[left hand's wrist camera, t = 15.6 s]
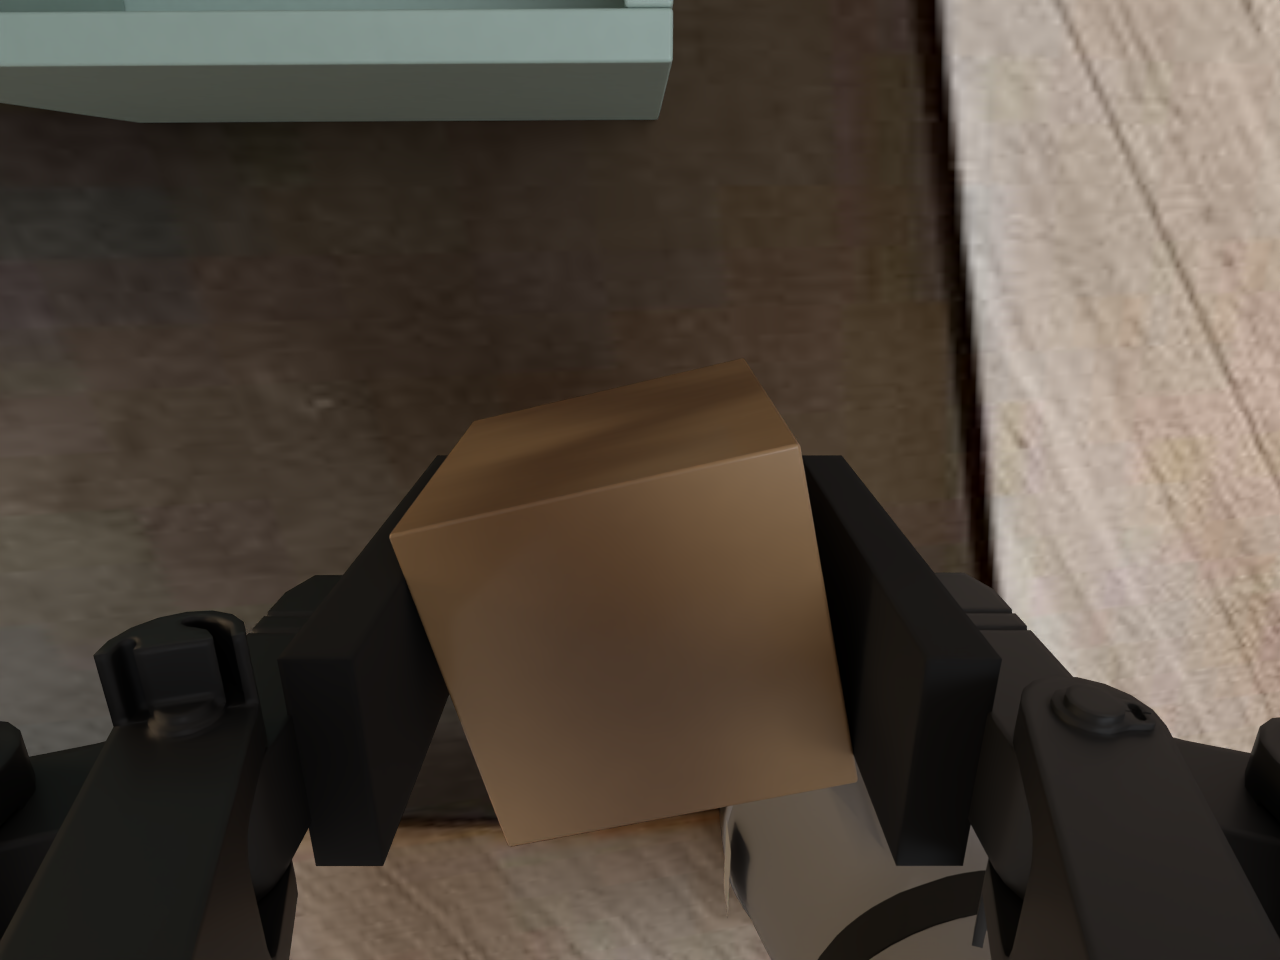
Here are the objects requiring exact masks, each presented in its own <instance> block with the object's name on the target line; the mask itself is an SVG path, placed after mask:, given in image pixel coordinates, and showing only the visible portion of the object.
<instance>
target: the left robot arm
mask: <svg viewBox="0 0 1280 960" xmlns="http://www.w3.org/2000/svg"><path fill="white" fill-rule="evenodd" d="M446 458H447V456H437V457H436V458H435V459H434V461H433V462H432V463H431V464H430V466H429V467H428V468H427V470H426V471H425V472H424V473H423V475H422V476H421V477H420V478H419V480H418V481H417V482H416V483H415V485H414V486H413V487H412V489H411V490H410V491H409V492H408V494H407V495H406V496H405V497H404V499H403V500H402V501H401V502H400V504H399V505H398V506H397V508H396V509H395V510H394V511H393V513H392V514H391V515H390V516H389V518H388V519H387V520H386V522H385V523H384V524H383V525H382V527H381V528H380V529H379V530H378V532H377V533H376V534H375V535H374V537H373V538H372V539H371V541H370V542H369V543H368V544H367V546H366V547H365V548H364V549H363V551H362V552H361V553H360V554H359V556H358V557H357V558H356V560H355V561H354V562H353V563H352V565H351V566H350V567H349V568H348V570H347V571H346V572H345V573H344V575H315V576H313V577H311V578H310V579H308V580H306V581H305V582H303V583H301V584H299V585H298V586H296V587H294V588H292V589H291V590H289V591H287V592H286V593H285V594H284V595H283V596H282V597H281V598H280V599H279V600H278V601H277V603H276V604H275V605H274V606H273V607H272V608H271V609H270V610H269V611H268V616H264V617H263V618H262V619H261V620H260V621H259V623H258V624H257V625H256V626H255V627H254V628H253V633H249V634H248V635H247V636H246V631H245V626H244V622H243V621H241V620H240V619H238V618H237V617H236V616H234V615H233V614H228V613H223V612H217V611H195V612H184V613H179V614H175V615H170V616H165V617H160V618H157V619H154V620H151V621H149V622H146V623H143V624H140V625H138V626H135V627H132V628H130V629H128V630H127V631H125V632H123V633H121V634H119V635H118V636H116V637H114V638H112V639H111V640H109V641H108V642H107V643H106V644H104V645H103V646H102V647H101V648H100V649H99V650H98V651H97V652H96V653H95V654H94V655H93V656H94V659H95V663H96V666H97V670H98V673H99V677H100V680H101V684H102V687H103V691H104V694H105V698H106V701H107V705H108V708H109V712H110V715H111V719H112V723H113V726H114V727H113V729H112V731H111V733H110V735H109V737H108V739H107V741H105V742H101V743H97V744H93V745H87V746H82V747H77V748H72V749H67V750H62V751H57V752H52V753H47V754H42V755H36V756H31V757H29V756H28V753H27V750H26V747H25V744H24V741H23V738H22V735H21V732H20V730H19V729H17V728H16V727H14V726H13V725H11V724H10V723H9V722H2V721H0V960H289V956H290V949H291V941H292V934H293V926H294V919H295V912H296V904H297V897H298V891H297V884H296V877H295V872H294V867H293V862H292V858H293V856H294V854H295V853H296V851H297V849H298V847H299V845H300V843H301V841H302V839H303V837H304V835H305V834H306V832H307V830H308V828H309V831H310V836H311V842H312V847H313V852H314V857H315V863H316V866H383V865H384V862H385V859H386V857H387V854H388V852H389V849H390V846H391V844H392V841H393V839H394V836H395V833H396V831H397V828H398V826H399V823H400V820H401V818H402V815H403V813H404V810H405V807H406V805H407V802H408V800H409V797H410V794H411V792H412V789H413V787H414V784H415V781H416V779H417V776H418V774H419V771H420V768H421V766H422V763H423V761H424V758H425V755H426V753H427V750H428V748H429V745H430V742H431V740H432V737H433V735H434V732H435V729H436V727H437V724H438V722H439V719H440V716H441V714H442V711H443V709H444V706H445V703H446V701H447V698H448V696H449V691H448V689H447V686H446V683H445V681H444V678H443V676H442V673H441V670H440V668H439V665H438V663H437V660H436V658H435V655H434V652H433V650H432V647H431V645H430V642H429V639H428V637H427V634H426V632H425V629H424V626H423V624H422V621H421V619H420V616H419V613H418V611H417V608H416V606H415V603H414V601H413V598H412V595H411V593H410V590H409V588H408V585H407V582H406V580H405V577H404V575H403V572H402V569H401V567H400V564H399V562H398V559H397V556H396V554H395V551H394V549H393V546H392V544H391V541H390V538H389V536H390V534H391V532H392V531H393V529H394V528H395V527H396V525H397V524H398V523H399V521H400V520H401V519H402V517H403V516H404V515H405V513H406V512H407V511H408V509H409V508H410V506H411V505H412V504H413V502H414V501H415V500H416V498H417V497H418V496H419V494H420V493H421V492H422V490H423V489H424V488H425V486H426V485H427V483H428V482H429V481H430V479H431V478H432V477H433V475H434V474H435V473H436V471H437V470H438V469H439V467H440V466H441V465H442V463H443V462H444V460H445V459H446ZM802 459H803V464H804V470H805V476H806V482H807V488H808V493H809V499H810V505H811V511H812V516H813V522H814V528H815V534H816V539H817V545H818V551H819V557H820V563H821V568H822V574H823V580H824V586H825V591H826V597H827V603H828V609H829V614H830V620H831V626H832V632H833V638H834V643H835V649H836V655H837V661H838V666H839V672H840V678H841V684H842V690H843V695H844V701H845V707H846V713H847V718H848V724H849V730H850V736H851V741H852V747H853V755H854V759H855V765H856V770H857V776H858V780H857V782H855V783H851V784H845V785H840V786H834V787H829V788H824V789H818V790H813V791H808V792H802V793H797V794H792V795H786V796H781V797H775V798H770V799H765V800H759V801H754V802H749V803H743V804H738V805H732V806H727V807H722V808H720V826H721V834H722V842H723V850H724V857H725V863H724V893H725V901H726V910H727V918H728V900H729V880H730V883H731V885H732V888H733V890H734V892H735V894H736V896H737V898H738V900H739V901H740V903H741V905H742V907H743V908H744V910H745V911H746V913H747V914H748V916H749V917H750V919H751V920H752V922H753V924H754V926H755V928H756V930H757V932H758V934H759V936H760V938H761V940H762V942H763V944H764V946H765V948H766V950H767V952H768V954H769V956H770V958H771V960H1280V718H1272V719H1270V720H1269V721H1267V722H1266V723H1265V724H1263V725H1262V726H1260V728H1259V731H1258V734H1257V737H1256V740H1255V743H1254V746H1253V749H1252V752H1251V753H1247V752H1241V751H1236V750H1231V749H1226V748H1221V747H1216V746H1211V745H1205V744H1200V743H1195V742H1190V741H1185V740H1181V739H1177V738H1173V737H1172V735H1171V733H1170V732H1169V730H1168V728H1167V726H1166V725H1165V724H1164V722H1163V721H1162V720H1161V719H1160V718H1159V716H1158V715H1157V714H1156V713H1155V712H1154V711H1153V710H1152V709H1151V708H1149V707H1148V706H1146V705H1145V704H1143V703H1142V702H1140V701H1139V700H1138V699H1136V698H1135V697H1133V696H1132V695H1129V694H1127V693H1125V692H1122V691H1120V690H1118V689H1115V688H1113V687H1111V686H1108V685H1106V684H1103V683H1099V682H1095V681H1091V680H1086V679H1082V678H1078V677H1073V676H1072V675H1071V674H1070V673H1069V672H1068V671H1067V670H1066V669H1065V668H1064V666H1063V665H1062V664H1061V663H1060V662H1059V661H1058V660H1057V659H1056V658H1055V657H1054V655H1053V654H1052V653H1051V652H1050V651H1049V650H1048V649H1047V648H1046V647H1045V646H1044V644H1043V643H1042V642H1041V641H1040V640H1039V639H1038V638H1037V637H1036V636H1035V634H1034V633H1033V632H1032V631H1031V630H1027V626H1026V625H1025V623H1024V622H1023V621H1022V620H1021V619H1020V618H1019V617H1018V616H1017V615H1016V614H1015V613H1012V609H1011V608H1010V607H1009V606H1008V605H1007V604H1006V603H1005V601H1004V600H1003V599H1002V598H1001V597H1000V596H999V595H998V594H997V593H996V592H995V590H993V589H992V588H990V587H988V586H986V585H985V584H983V583H981V582H980V581H978V580H976V579H974V578H973V577H971V576H969V575H967V574H966V573H934V572H933V571H932V570H931V568H930V567H929V566H928V565H927V563H926V562H925V561H924V559H923V558H922V557H921V556H920V554H919V553H918V552H917V551H916V549H915V548H914V547H913V545H912V544H911V543H910V542H909V540H908V539H907V538H906V537H905V535H904V534H903V533H902V532H901V530H900V529H899V528H898V526H897V525H896V524H895V523H894V521H893V520H892V519H891V518H890V516H889V515H888V514H887V513H886V511H885V510H884V509H883V507H882V506H881V505H880V504H879V502H878V501H877V500H876V499H875V497H874V496H873V495H872V493H871V492H870V491H869V490H868V488H867V487H866V486H865V485H864V483H863V482H862V481H861V480H860V478H859V477H858V476H857V474H856V473H855V472H854V471H853V469H852V468H851V467H850V466H849V464H848V463H847V462H846V460H845V459H844V458H843V457H842V456H802Z"/></svg>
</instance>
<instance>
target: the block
mask: <svg viewBox="0 0 1280 960" xmlns="http://www.w3.org/2000/svg"><path fill="white" fill-rule="evenodd" d="M389 538H390V541H391V544H392V546H393V549H394V551H395V554H396V556H397V559H398V562H399V564H400V567H401V569H402V572H403V575H404V577H405V580H406V582H407V585H408V588H409V590H410V593H411V595H412V598H413V601H414V603H415V606H416V608H417V611H418V613H419V616H420V619H421V621H422V624H423V626H424V629H425V632H426V634H427V637H428V639H429V642H430V645H431V647H432V650H433V652H434V655H435V658H436V660H437V663H438V665H439V668H440V670H441V673H442V676H443V678H444V681H445V683H446V686H447V689H448V691H449V694H450V696H451V699H452V702H453V704H454V707H455V709H456V712H457V715H458V717H459V720H460V722H461V725H462V727H463V730H464V733H465V735H466V738H467V740H468V743H469V746H470V748H471V751H472V753H473V756H474V759H475V761H476V764H477V766H478V769H479V771H480V774H481V777H482V779H483V782H484V784H485V787H486V790H487V792H488V795H489V797H490V800H491V803H492V805H493V808H494V810H495V813H496V816H497V818H498V821H499V823H500V826H501V828H502V831H503V834H504V836H505V839H506V841H507V844H508V846H510V847H512V846H518V845H523V844H528V843H534V842H539V841H545V840H550V839H555V838H561V837H566V836H571V835H577V834H582V833H588V832H593V831H598V830H604V829H609V828H614V827H620V826H625V825H630V824H636V823H641V822H647V821H652V820H657V819H663V818H668V817H673V816H679V815H684V814H690V813H695V812H700V811H706V810H711V809H716V808H722V807H727V806H732V805H738V804H743V803H749V802H754V801H759V800H765V799H770V798H775V797H781V796H786V795H792V794H797V793H802V792H808V791H813V790H818V789H824V788H829V787H834V786H840V785H845V784H851V783H855V782H857V780H858V776H857V770H856V765H855V759H854V755H853V747H852V741H851V736H850V730H849V724H848V718H847V713H846V707H845V701H844V695H843V690H842V684H841V678H840V672H839V666H838V661H837V655H836V649H835V643H834V638H833V632H832V626H831V620H830V614H829V609H828V603H827V597H826V591H825V586H824V580H823V574H822V568H821V563H820V557H819V551H818V545H817V539H816V534H815V528H814V522H813V516H812V511H811V505H810V499H809V493H808V488H807V482H806V476H805V470H804V464H803V459H802V453H801V447H800V445H799V443H798V442H797V440H796V439H795V437H794V436H793V434H792V432H791V431H790V429H789V428H788V426H787V425H786V423H785V422H784V420H783V418H782V417H781V415H780V414H779V412H778V411H777V409H776V407H775V406H774V404H773V403H772V401H771V400H770V398H769V397H768V395H767V393H766V392H765V390H764V389H763V387H762V386H761V384H760V383H759V381H758V379H757V378H756V376H755V375H754V373H753V372H752V370H751V369H750V367H749V365H748V364H747V362H746V361H745V359H743V358H741V359H737V360H733V361H729V362H724V363H720V364H716V365H712V366H707V367H703V368H699V369H694V370H690V371H686V372H682V373H677V374H673V375H669V376H664V377H660V378H656V379H652V380H647V381H643V382H639V383H635V384H630V385H626V386H622V387H617V388H613V389H609V390H605V391H600V392H596V393H592V394H587V395H583V396H579V397H575V398H570V399H566V400H562V401H558V402H553V403H549V404H545V405H540V406H536V407H532V408H528V409H523V410H519V411H515V412H510V413H506V414H502V415H498V416H493V417H489V418H485V419H481V420H476V421H474V422H473V423H472V424H471V425H470V427H469V428H468V429H467V431H466V432H465V433H464V435H463V436H462V438H461V439H460V440H459V442H458V443H457V444H456V446H455V447H454V448H453V450H452V451H451V452H450V454H449V455H448V456H447V458H446V459H445V460H444V462H443V463H442V465H441V466H440V467H439V469H438V470H437V471H436V473H435V474H434V475H433V477H432V478H431V479H430V481H429V482H428V483H427V485H426V486H425V488H424V489H423V490H422V492H421V493H420V494H419V496H418V497H417V498H416V500H415V501H414V502H413V504H412V505H411V506H410V508H409V509H408V511H407V512H406V513H405V515H404V516H403V517H402V519H401V520H400V521H399V523H398V524H397V525H396V527H395V528H394V529H393V531H392V532H391V534H390V536H389Z"/></svg>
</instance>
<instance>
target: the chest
mask: <svg viewBox="0 0 1280 960" xmlns="http://www.w3.org/2000/svg"><path fill="white" fill-rule="evenodd" d="M672 6H673V0H0V103H6V104H13V105H20V106H27V107H34V108H41V109H48V110H55V111H61V112H68V113H75V114H82V115H89V116H96V117H103V118H110V119H117V120H125V121H131V122H138V123H172V122H337V121H501V120H656V119H658V117H659V113H660V109H661V105H662V101H663V97H664V93H665V88H666V84H667V80H668V76H669V72H670V68H671V64H672V59H673V11H672Z"/></svg>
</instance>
